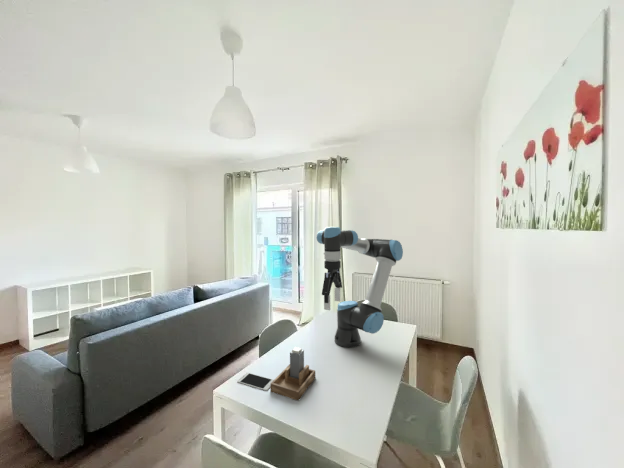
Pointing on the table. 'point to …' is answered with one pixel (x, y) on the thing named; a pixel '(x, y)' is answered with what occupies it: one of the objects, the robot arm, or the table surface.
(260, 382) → the smartphone
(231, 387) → the table surface
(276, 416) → the table surface
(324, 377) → the table surface
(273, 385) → the box
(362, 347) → the table surface
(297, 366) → the grey rectangular block
